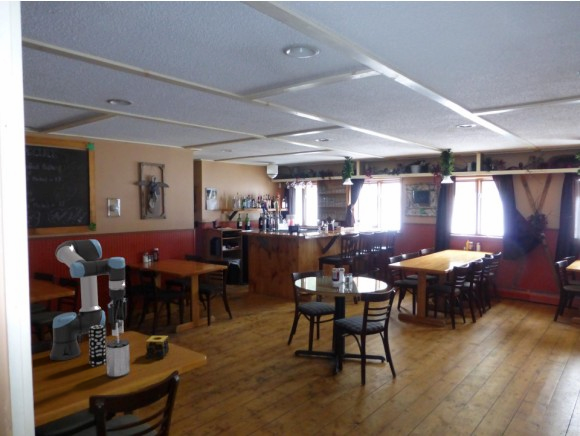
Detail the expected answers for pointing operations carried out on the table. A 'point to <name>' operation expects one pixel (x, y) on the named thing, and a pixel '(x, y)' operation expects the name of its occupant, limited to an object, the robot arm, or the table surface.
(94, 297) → the robot arm
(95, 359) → the spotted tube
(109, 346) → the grey cylinder
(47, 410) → the table surface
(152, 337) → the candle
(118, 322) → the grey ball-topped rod
